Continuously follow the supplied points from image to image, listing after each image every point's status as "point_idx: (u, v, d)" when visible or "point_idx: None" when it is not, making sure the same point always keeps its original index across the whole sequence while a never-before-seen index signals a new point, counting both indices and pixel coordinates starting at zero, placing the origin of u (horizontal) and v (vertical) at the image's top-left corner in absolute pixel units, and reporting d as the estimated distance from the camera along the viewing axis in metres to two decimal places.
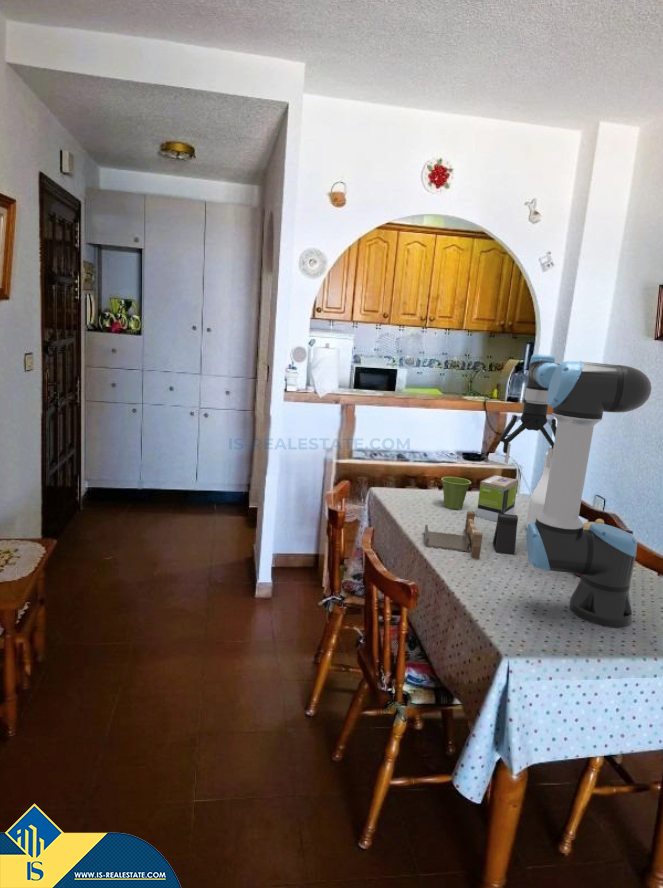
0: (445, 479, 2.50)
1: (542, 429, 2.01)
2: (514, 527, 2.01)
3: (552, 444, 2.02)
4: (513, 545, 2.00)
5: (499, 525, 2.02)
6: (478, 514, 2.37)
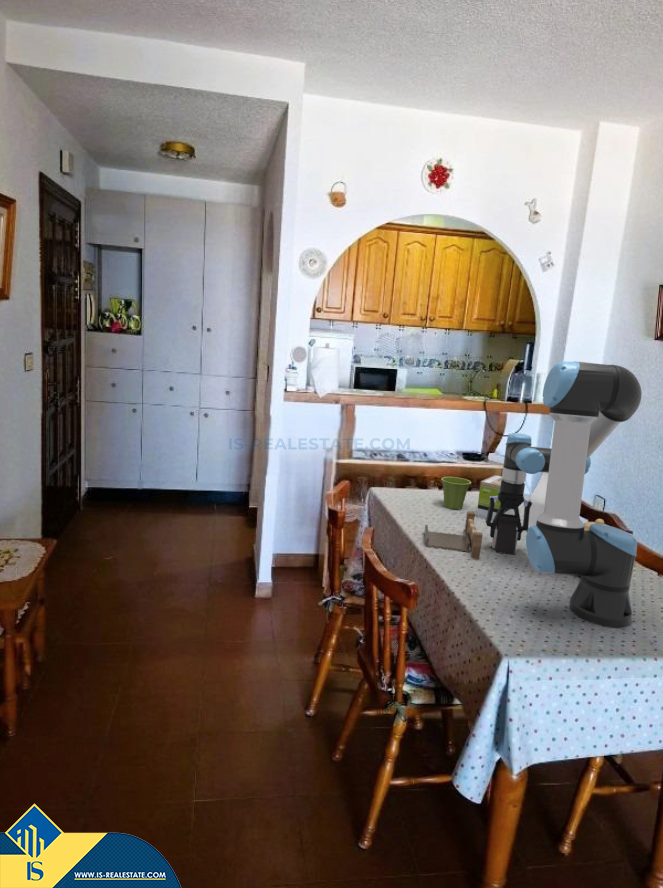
0: (445, 479, 2.50)
1: (516, 510, 2.00)
2: (514, 527, 2.01)
3: (519, 526, 2.01)
4: (513, 545, 2.00)
5: (499, 525, 2.02)
6: (478, 514, 2.37)
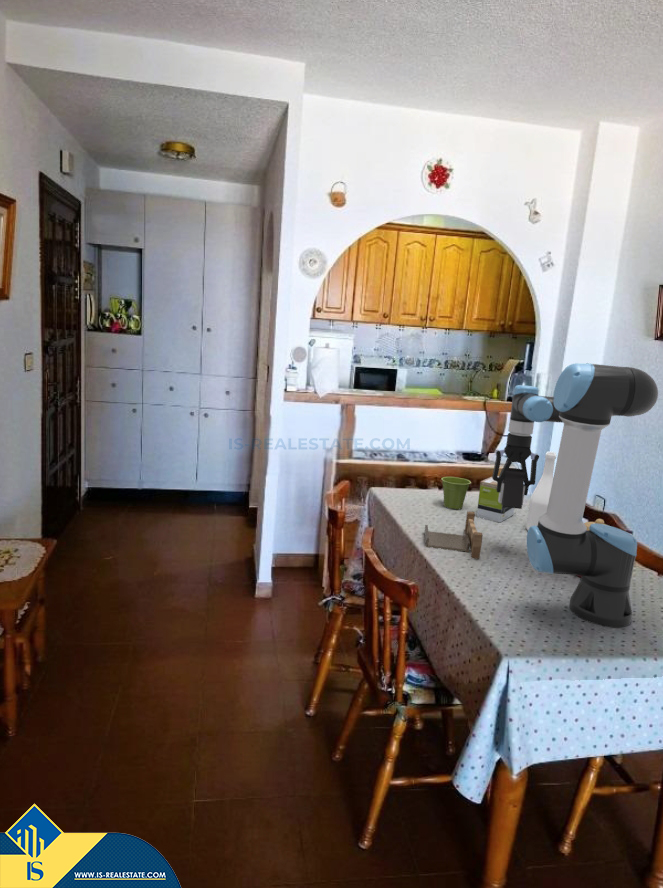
0: (445, 479, 2.50)
1: (523, 463, 1.97)
2: (521, 481, 1.98)
3: (526, 480, 1.98)
4: (520, 499, 1.97)
5: (506, 479, 1.98)
6: (478, 514, 2.37)
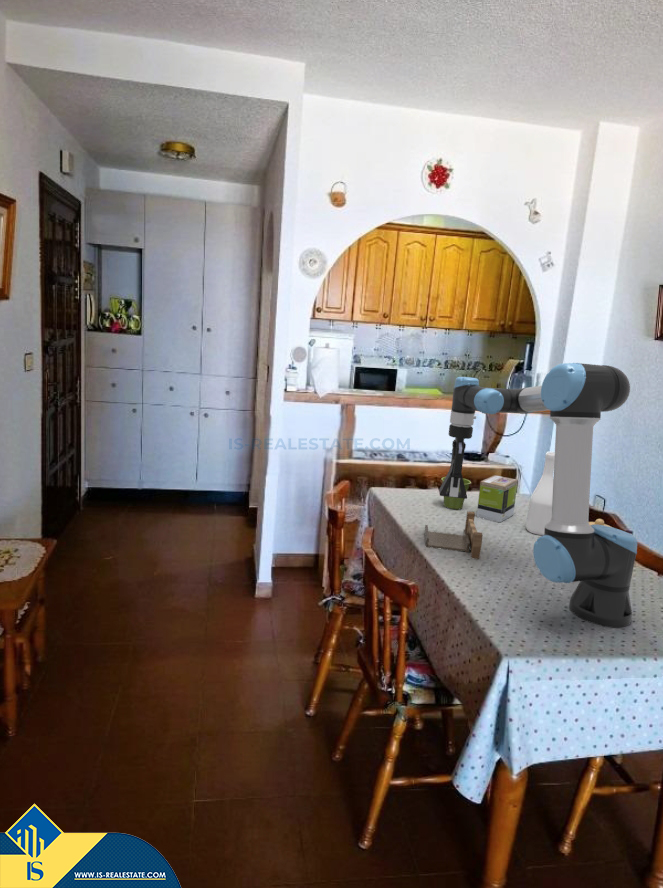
0: None
1: (453, 453, 1.99)
2: (451, 471, 2.00)
3: None
4: (443, 486, 2.01)
5: None
6: (478, 514, 2.37)
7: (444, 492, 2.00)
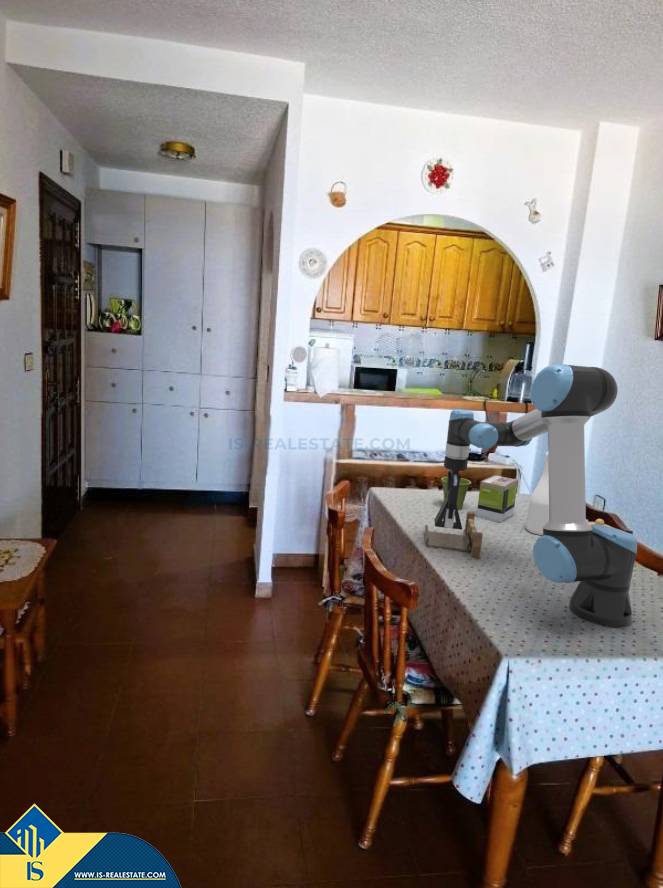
0: (445, 479, 2.50)
1: (448, 484, 2.01)
2: (446, 502, 2.02)
3: (448, 503, 2.00)
4: (438, 517, 2.03)
5: None
6: (478, 514, 2.37)
7: (439, 523, 2.03)
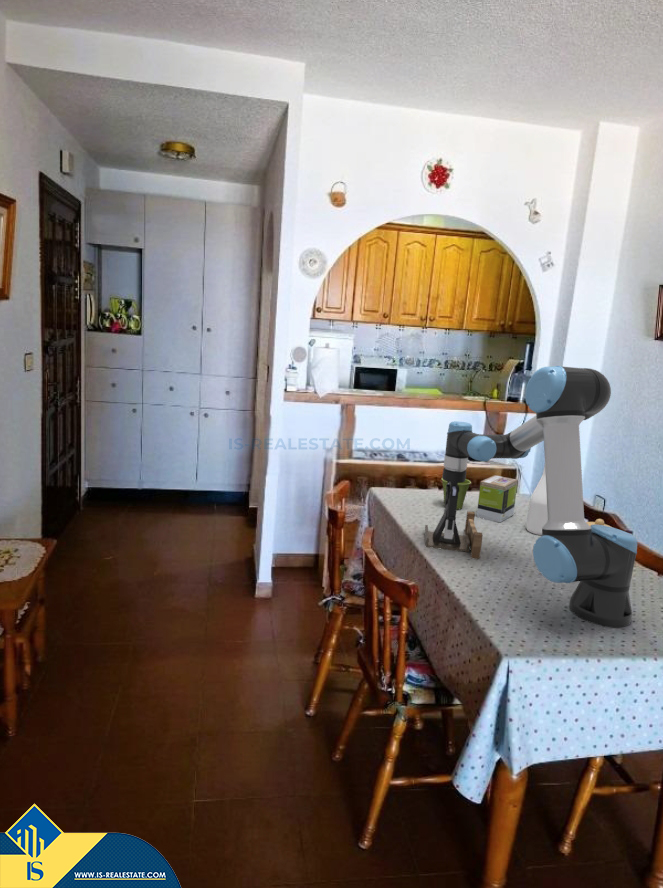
0: None
1: (447, 496, 2.01)
2: (444, 517, 2.03)
3: (447, 514, 1.99)
4: (437, 532, 2.04)
5: (444, 513, 2.07)
6: (478, 514, 2.37)
7: (438, 538, 2.03)
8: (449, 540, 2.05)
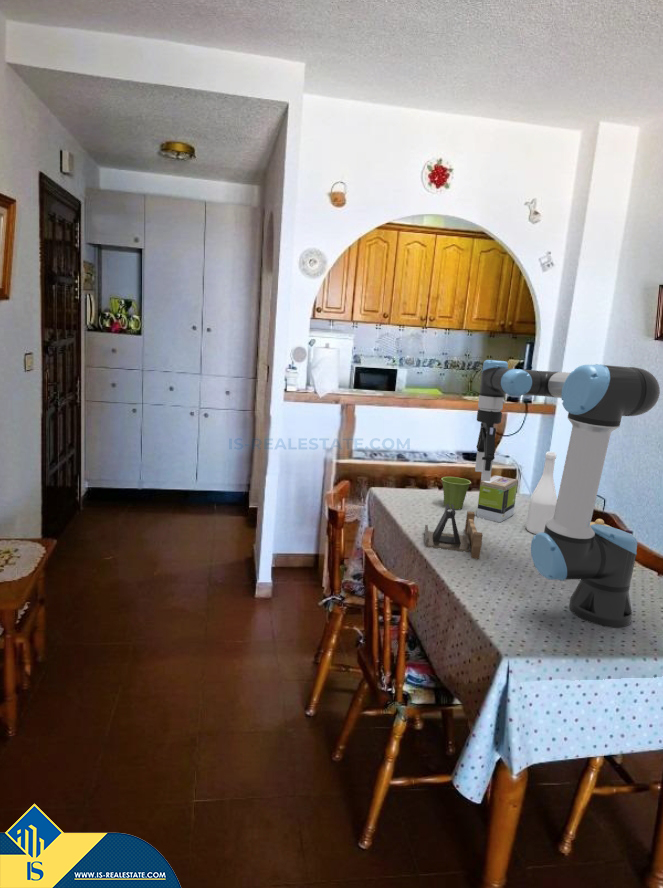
0: (445, 479, 2.50)
1: (482, 438, 1.91)
2: (444, 517, 2.03)
3: (484, 454, 1.88)
4: (437, 532, 2.04)
5: (444, 513, 2.07)
6: (478, 514, 2.37)
7: (438, 538, 2.03)
8: (449, 540, 2.05)
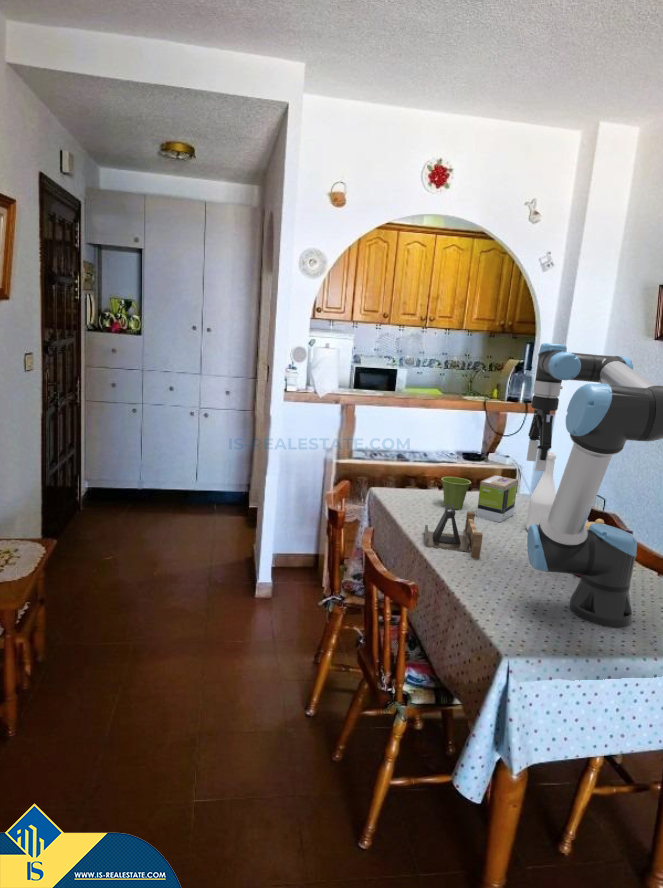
0: (445, 479, 2.50)
1: (537, 425, 1.81)
2: (444, 517, 2.03)
3: (540, 443, 1.78)
4: (437, 532, 2.04)
5: (444, 513, 2.07)
6: (478, 514, 2.37)
7: (438, 538, 2.03)
8: (449, 540, 2.05)
